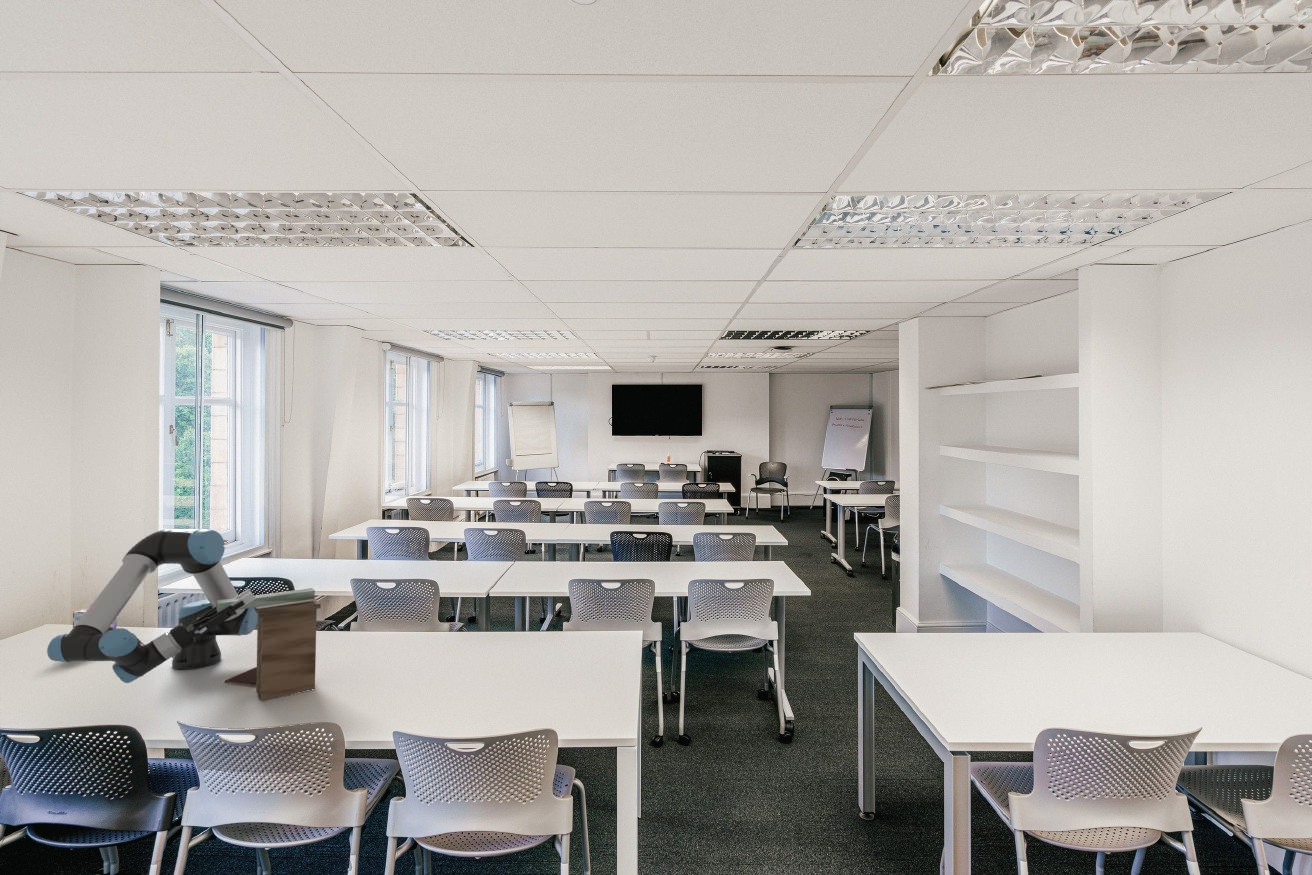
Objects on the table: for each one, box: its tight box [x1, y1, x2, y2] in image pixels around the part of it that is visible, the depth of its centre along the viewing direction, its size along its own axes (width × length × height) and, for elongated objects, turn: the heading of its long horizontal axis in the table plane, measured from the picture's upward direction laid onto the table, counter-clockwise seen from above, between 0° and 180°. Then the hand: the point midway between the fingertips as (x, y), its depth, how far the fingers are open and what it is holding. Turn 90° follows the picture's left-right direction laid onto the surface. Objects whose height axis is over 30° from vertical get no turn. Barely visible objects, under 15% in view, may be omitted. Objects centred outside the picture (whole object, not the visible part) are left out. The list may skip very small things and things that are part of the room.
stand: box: [254, 598, 322, 702], centre depth 214 cm, size 12×18×30 cm, turn 131°
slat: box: [216, 587, 316, 612], centre depth 210 cm, size 4×28×3 cm, turn 131°
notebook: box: [223, 666, 257, 688], centre depth 227 cm, size 15×20×2 cm
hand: (252, 593), depth 207 cm, fingers closed on slat, 4 cm apart
